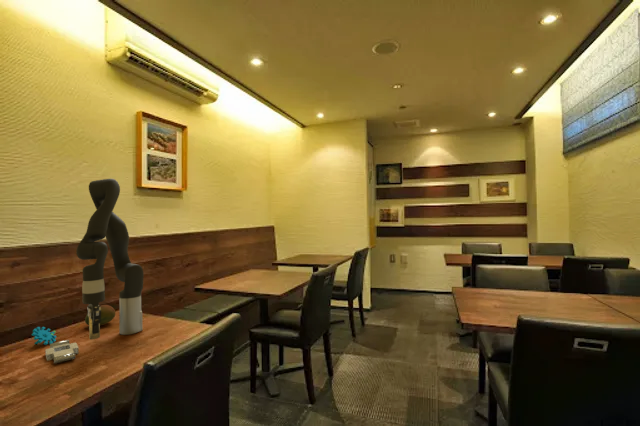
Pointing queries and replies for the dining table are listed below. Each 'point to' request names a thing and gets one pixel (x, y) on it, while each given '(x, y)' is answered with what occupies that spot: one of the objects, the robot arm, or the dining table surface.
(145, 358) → the dining table surface
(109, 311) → the fruit
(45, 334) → the gear
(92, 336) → the pin
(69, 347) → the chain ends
